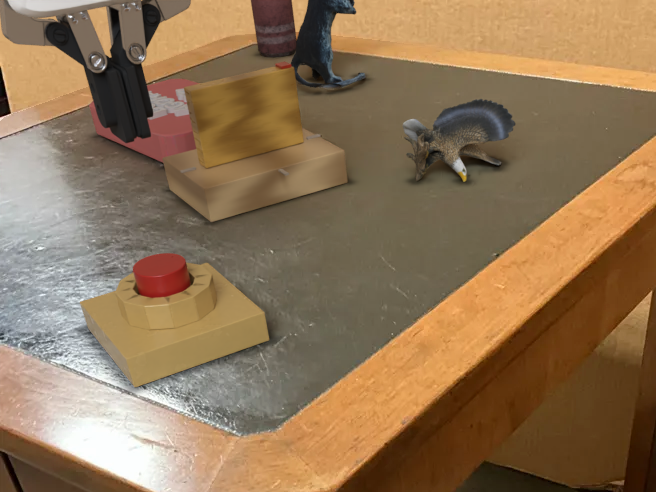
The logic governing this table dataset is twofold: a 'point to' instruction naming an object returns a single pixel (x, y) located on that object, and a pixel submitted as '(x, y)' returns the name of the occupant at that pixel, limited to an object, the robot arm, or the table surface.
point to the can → (274, 27)
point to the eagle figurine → (458, 135)
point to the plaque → (161, 122)
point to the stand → (256, 177)
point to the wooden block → (245, 114)
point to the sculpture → (320, 42)
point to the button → (161, 275)
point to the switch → (174, 325)
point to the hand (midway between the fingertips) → (130, 134)
